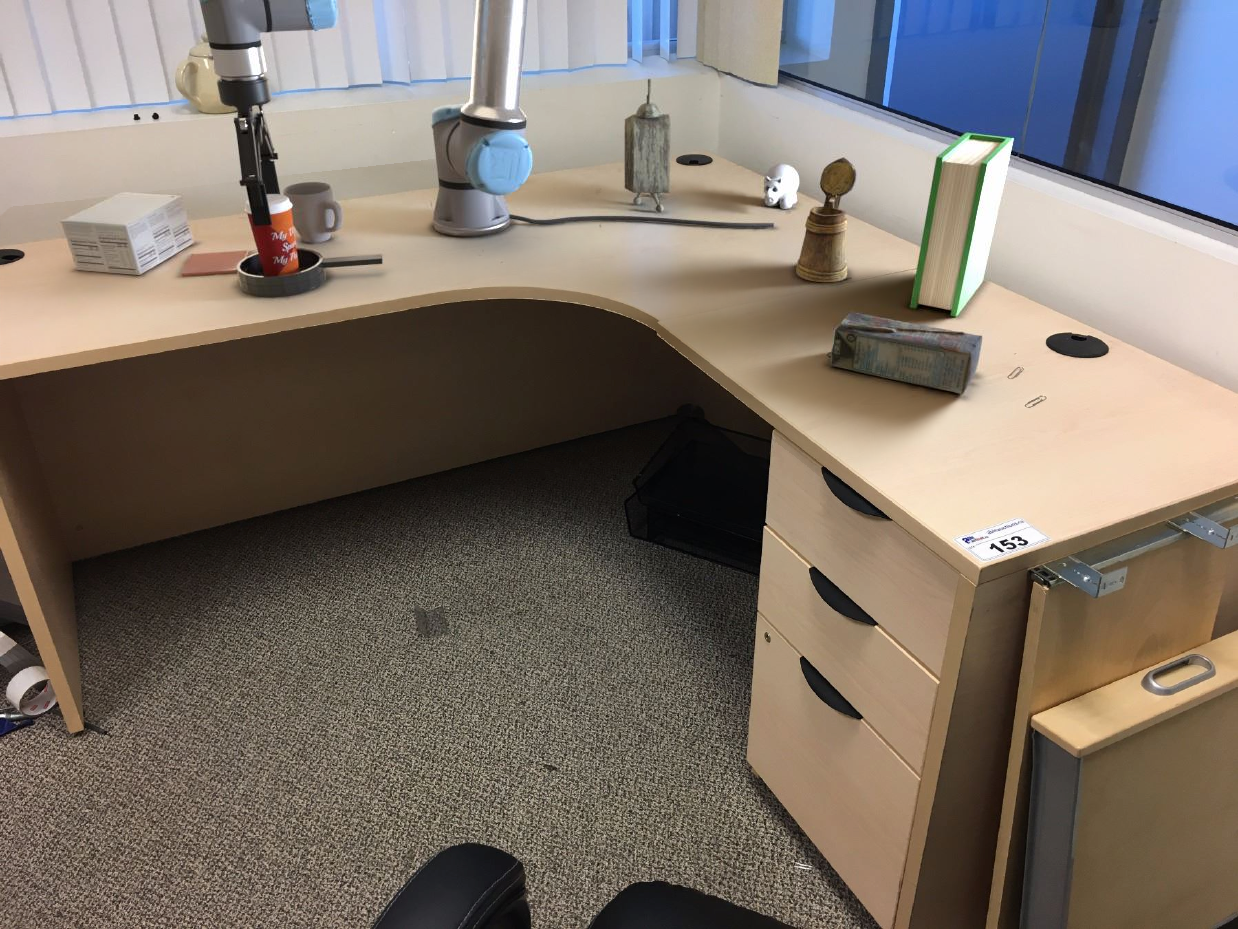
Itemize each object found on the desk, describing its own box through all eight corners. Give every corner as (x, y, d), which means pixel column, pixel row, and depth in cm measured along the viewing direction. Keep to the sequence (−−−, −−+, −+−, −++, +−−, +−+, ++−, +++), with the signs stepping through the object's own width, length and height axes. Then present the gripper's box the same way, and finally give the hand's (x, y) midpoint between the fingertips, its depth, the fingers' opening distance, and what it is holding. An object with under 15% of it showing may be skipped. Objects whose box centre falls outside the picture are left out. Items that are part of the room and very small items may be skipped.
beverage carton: (845, 346, 140) (851, 305, 137) (977, 374, 133) (987, 331, 129) (828, 367, 135) (833, 324, 131) (965, 398, 127) (975, 354, 123)
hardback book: (956, 316, 150) (987, 163, 137) (910, 307, 153) (936, 156, 140) (982, 281, 162) (1013, 138, 149) (939, 273, 165) (966, 132, 153)
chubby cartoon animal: (748, 214, 194) (751, 172, 189) (769, 198, 203) (772, 158, 198) (782, 219, 191) (785, 177, 186) (801, 203, 200) (805, 162, 195)
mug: (282, 241, 181) (272, 191, 175) (315, 228, 187) (307, 179, 182) (329, 251, 176) (320, 200, 171) (361, 237, 182) (354, 188, 177)
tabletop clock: (668, 215, 193) (671, 86, 180) (624, 215, 193) (624, 86, 180) (666, 194, 205) (669, 72, 192) (625, 194, 205) (625, 72, 192)
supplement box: (134, 239, 182) (120, 190, 177) (195, 243, 180) (183, 195, 174) (74, 270, 168) (57, 219, 163) (140, 275, 166) (125, 223, 161)
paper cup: (293, 289, 159) (276, 207, 152) (251, 286, 161) (233, 205, 153) (314, 273, 166) (299, 193, 158) (274, 270, 167) (258, 191, 159)
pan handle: (382, 259, 166) (382, 253, 165) (382, 264, 164) (381, 258, 163) (324, 263, 164) (323, 257, 164) (323, 268, 162) (322, 262, 162)
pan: (328, 264, 170) (325, 245, 168) (323, 293, 159) (319, 273, 157) (247, 269, 168) (242, 250, 166) (235, 300, 156) (230, 280, 154)
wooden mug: (856, 259, 171) (870, 159, 161) (841, 285, 161) (855, 179, 151) (807, 253, 174) (818, 154, 164) (790, 278, 164) (800, 174, 154)
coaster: (248, 253, 175) (247, 250, 175) (240, 272, 167) (240, 269, 167) (192, 256, 174) (191, 254, 173) (181, 276, 165) (180, 273, 165)
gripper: (228, 62, 155) (254, 191, 166) (201, 92, 134) (233, 237, 146) (276, 61, 156) (298, 189, 168) (256, 91, 135) (283, 234, 147)
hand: (268, 212), depth 157 cm, fingers open, 13 cm apart
